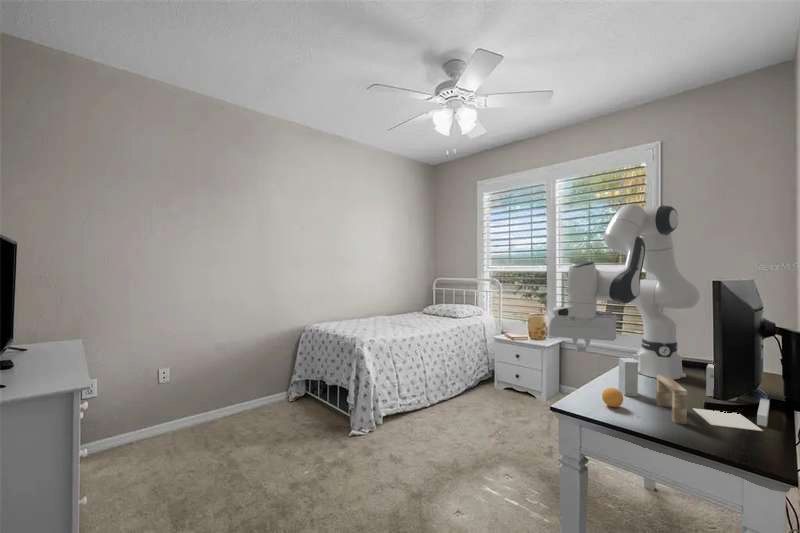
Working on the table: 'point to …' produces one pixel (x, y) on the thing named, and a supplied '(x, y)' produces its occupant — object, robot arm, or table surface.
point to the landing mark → (727, 419)
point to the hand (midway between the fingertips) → (580, 351)
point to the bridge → (677, 398)
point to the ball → (612, 397)
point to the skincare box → (628, 376)
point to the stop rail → (763, 412)
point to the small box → (710, 380)
